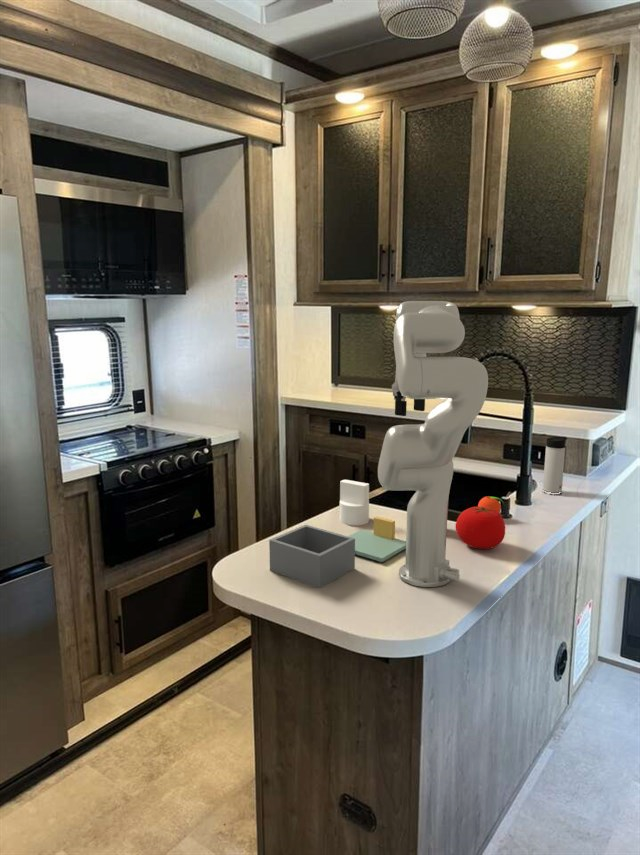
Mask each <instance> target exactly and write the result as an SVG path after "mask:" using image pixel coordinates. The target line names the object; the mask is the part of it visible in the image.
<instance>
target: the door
mask: <svg viewBox="0 0 640 855" xmlns="http://www.w3.org/2000/svg"><path fill="white" fill-rule="evenodd" d="M395 530H396V520H392V519H388V518H384V517H380V516H374V517H373V531H370V530H366V529H359V530H358V531H356V532H353V533H351V534H350V535H347V536H348V537H351V538H355V555H357V556H360V557H364V558H367V559H370V560H374V561H377V562H381V563H383V562H385V561H387V560H388V559H390V558H391V557H393V556H395V555H397V554H398V553H401V552H402V551H404V550H406V540H404V539H399V538H395V537H396V536H395V535H396V534H395V533H396V531H395Z"/></svg>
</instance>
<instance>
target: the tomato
mask: <svg viewBox="0 0 640 855" xmlns="http://www.w3.org/2000/svg"><path fill="white" fill-rule="evenodd" d="M455 532H456V535H457V536H458V538H459V539H460V540H461V541H462V543H464V544H465V545H467V546H469V547H471V548H474V549H479V550H488V549H494V548H495V547H498V546H499V545H500V544H501V543H502V542H503V540H504V538H505V536H506V523H505V521H504V517H503V516H502V515H501V514H500V513H498V512H497V511H496V510H493V509H490V508H485V507H483V506H482V507H478V506H471V507H468V508H466V509H465V510H463V511H462V512H460V514H459V515H458V517H457V518H456V523H455Z"/></svg>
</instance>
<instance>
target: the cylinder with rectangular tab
mask: <svg viewBox="0 0 640 855" xmlns="http://www.w3.org/2000/svg"><path fill="white" fill-rule="evenodd" d="M369 498H370V483H368V482H367V483H366V482H361V481H355V480H350V479H342V480H340V483H339V522H340V523H341V524H344V525H347V526H362V525H366V524H368V523H369V520H370V499H369Z"/></svg>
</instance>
